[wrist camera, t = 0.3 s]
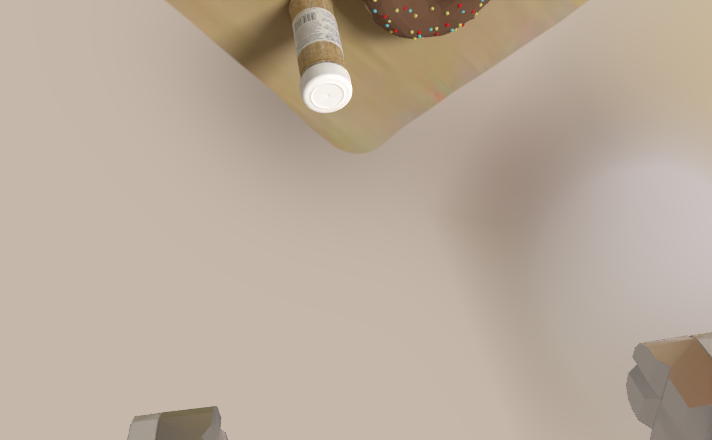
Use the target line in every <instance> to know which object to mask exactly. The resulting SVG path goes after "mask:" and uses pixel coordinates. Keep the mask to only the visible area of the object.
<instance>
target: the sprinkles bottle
mask: <svg viewBox="0 0 712 440" xmlns="http://www.w3.org/2000/svg"><path fill="white" fill-rule="evenodd" d="M289 14H290V16H291V19H292V27H293V33H294V41H295V47H296V54H297V60H298V65H299V71H300V76H301V79H300V90H301V95H302V99H303V102H304V103H305V105H306V106H307V107H308V108H310V109H311V110H313V111H316V112H320V113H330V112H334V111H337V110H339V109H341V108H343V107H344V106H345V105H346V104H347V103H348V102H349V100H350V99H351V96H352V84H351V80H350V76H349V73H348V72H347V70H346V67H345V62H344V55H343V50H342V46H341V41H340V37H339V32H338V27H337V23H336V20H335V17H334V12H333V2H332V0H291V1H290V4H289Z"/></svg>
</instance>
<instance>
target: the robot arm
mask: <svg viewBox="0 0 712 440" xmlns="http://www.w3.org/2000/svg"><path fill="white" fill-rule="evenodd" d="M633 359H634V360H635V362H636V363H637V365H636V366H635V367H634V368H633V369H632V370H631V371H630V372H629V373H628V378H627V384H626V387H627V394H628V399H629V402H630V405H631V407H632V410H633V412H634V413H635V415H636V417H637V418H638V420H639V421H641V422H642V423H644V424H645V425H647V426H648V427H650V428H652V432H651V437H650V440H712V333H705V334H699V335H691V336H682V337H675V338H670V339H663V340H657V341H650V342H644V343H639V344H638V345H637V346H636V347H635V350H634V353H633ZM220 427H221V416H220V413H219V410H218V408H217V407H216V406H214V407H205V408H196V409H188V410H180V411H171V412H163V413H157V414H149V415H141V416H135V417H134V419H133V421H132V423H131V425H130V429H129V434H128V439H127V440H228V438H227V435H226V432H224V431H222V430H221V429H220Z"/></svg>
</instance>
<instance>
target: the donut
mask: <svg viewBox="0 0 712 440" xmlns="http://www.w3.org/2000/svg"><path fill="white" fill-rule="evenodd" d="M362 1H363V3H364V5H365V7H366V9H367V10H368V11H369V12H370V14H371V15H372V16H373V18H374V20H375V22H376V23H377V24H378V25H380V26H381V27H383V28H384V29H386V30H387V31H389V32H390V33H392V34H394V35H396V36H399V37H405V39H406V40H408V39H413V40H416V39H417V38H421V39H423V38H424V37H433V36H442V35H445V34H448V33H450V32H453V31H456V30H457V28H458V27H461V26H464V23H466V22H467V21H469V20H471V19H474V16H475V15H477V12H478V11H479V10H480V9H481V8H482V7H484V6H485V5H486V4H487V3H488V2H489V1H490V0H362Z"/></svg>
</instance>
